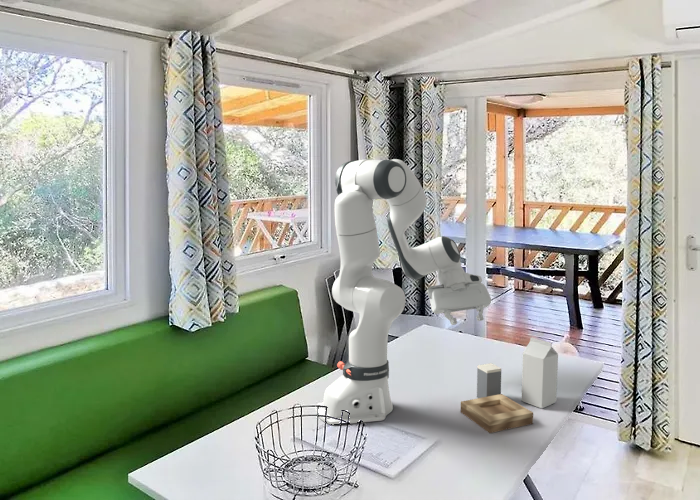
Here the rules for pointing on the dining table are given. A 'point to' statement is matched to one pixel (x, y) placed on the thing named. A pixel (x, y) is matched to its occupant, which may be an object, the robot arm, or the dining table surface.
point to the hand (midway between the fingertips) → (467, 322)
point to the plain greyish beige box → (488, 380)
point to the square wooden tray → (496, 413)
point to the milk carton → (539, 373)
